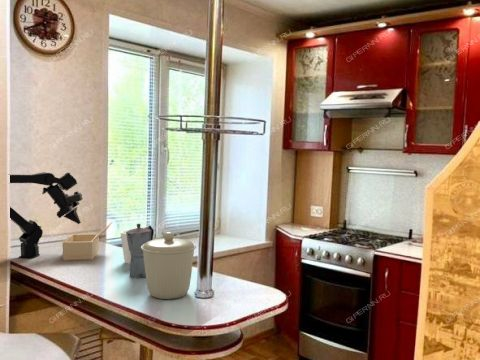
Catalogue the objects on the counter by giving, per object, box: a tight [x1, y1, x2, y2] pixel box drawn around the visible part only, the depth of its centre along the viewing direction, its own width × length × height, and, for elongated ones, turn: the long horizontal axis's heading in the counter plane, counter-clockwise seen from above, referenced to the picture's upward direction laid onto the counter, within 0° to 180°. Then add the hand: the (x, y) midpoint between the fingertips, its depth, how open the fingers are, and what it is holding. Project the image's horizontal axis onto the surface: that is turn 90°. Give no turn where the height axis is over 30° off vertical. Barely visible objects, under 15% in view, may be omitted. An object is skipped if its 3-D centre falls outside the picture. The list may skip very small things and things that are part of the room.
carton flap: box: [93, 221, 113, 241], centre depth 206 cm, size 8×16×1 cm
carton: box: [62, 233, 100, 262], centre depth 205 cm, size 12×19×8 cm, turn 9°
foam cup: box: [120, 229, 131, 265], centre depth 194 cm, size 10×9×13 cm
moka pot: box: [126, 223, 155, 279], centre depth 175 cm, size 10×15×20 cm, turn 158°
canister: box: [141, 231, 197, 300], centre depth 151 cm, size 18×18×21 cm
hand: (79, 223), depth 211 cm, fingers closed
